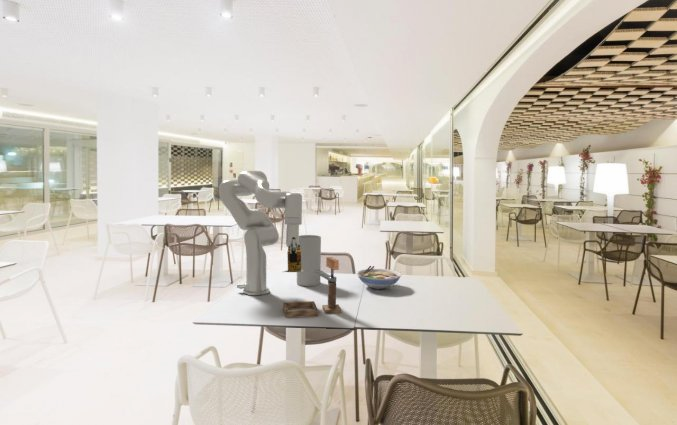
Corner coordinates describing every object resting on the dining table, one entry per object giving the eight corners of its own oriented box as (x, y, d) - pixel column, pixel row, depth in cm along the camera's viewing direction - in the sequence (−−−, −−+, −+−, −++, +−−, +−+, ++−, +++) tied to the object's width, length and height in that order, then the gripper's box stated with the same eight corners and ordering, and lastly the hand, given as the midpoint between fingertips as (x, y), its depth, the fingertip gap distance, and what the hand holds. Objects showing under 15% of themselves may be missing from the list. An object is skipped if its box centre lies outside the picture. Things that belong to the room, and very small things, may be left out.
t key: (312, 273, 198) (312, 251, 197) (319, 272, 199) (320, 251, 199) (332, 284, 179) (332, 260, 178) (340, 283, 180) (340, 260, 179)
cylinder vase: (324, 282, 230) (325, 236, 228) (311, 288, 220) (311, 239, 217) (306, 279, 237) (306, 234, 235) (291, 284, 226) (292, 237, 224)
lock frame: (284, 317, 174) (285, 287, 173) (283, 308, 186) (283, 280, 185) (342, 314, 179) (343, 285, 178) (337, 305, 191) (337, 278, 190)
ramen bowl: (395, 296, 208) (396, 279, 207) (350, 291, 215) (350, 275, 214) (404, 283, 231) (405, 268, 230) (363, 279, 238) (364, 265, 238)
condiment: (298, 272, 188) (297, 244, 189) (280, 272, 191) (280, 245, 192) (304, 270, 195) (304, 244, 196) (287, 270, 198) (286, 244, 199)
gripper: (283, 218, 199) (282, 256, 201) (285, 223, 182) (285, 265, 184) (299, 218, 201) (299, 256, 202) (303, 223, 184) (302, 264, 185)
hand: (292, 260), depth 193 cm, fingers closed on condiment, 6 cm apart
